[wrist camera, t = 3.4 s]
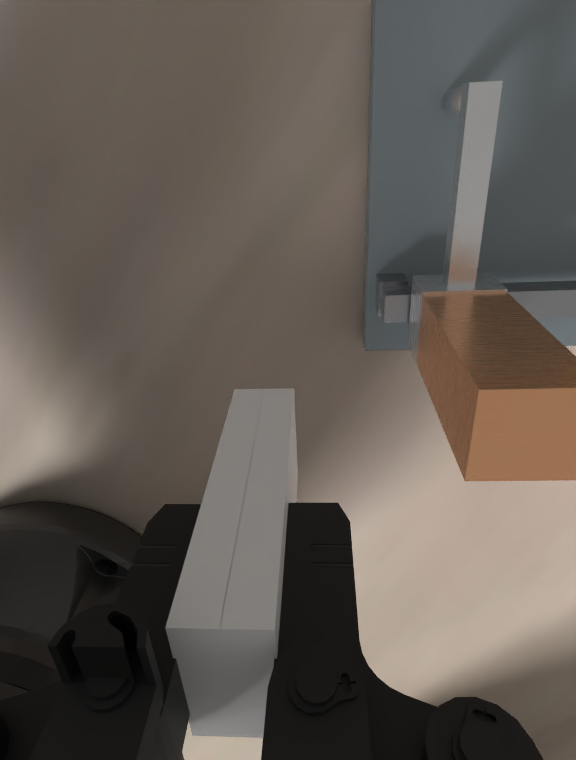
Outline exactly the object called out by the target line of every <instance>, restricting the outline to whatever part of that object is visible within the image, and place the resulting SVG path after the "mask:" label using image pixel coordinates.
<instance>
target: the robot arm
mask: <svg viewBox="0 0 576 760" xmlns="http://www.w3.org/2000/svg"><path fill="white" fill-rule="evenodd" d="M297 486H298V462H297V440H296V418H295V397H294V388H283V389H234V393H233V396H232V400H231V403H230V407H229V410H228V414H227V417H226V420H225V424H224V427H223V431H222V434H221V438H220V441H219V445H218V448H217V452H216V455H215V458H214V462H213V465H212V469H211V472H210V476H209V479H208V483H207V486H206V489H205V493H204V496H203V500H202V503H201V504H165V505H164V506H163V507H162V508H161V509H160V510H159V511H158V512H157V514H156V515H155V516H154V517H153V518H152V519H151V520H150V521H149V522H148V524H147V526H146V528H145V531H144V533H143V536H142V537H141V536H139V535H138V534H137V533H135V532H134V531H132V530H131V529H129V528H128V527H126V526H124V525H123V524H121V523H119V522H117V521H115V520H113V519H111V518H109V517H106V516H104V515H102V514H99V513H96V512H93V511H90V510H87V509H84V508H80V507H75V506H71V505H65V504H58V503H45V502H35V503H22V504H15V505H11V506H6V507H3V508H0V760H184V758H183V754H182V749H183V744H184V739H185V734H186V730H187V725H188V720H189V723H190V727H191V731H192V735H196V736H228V737H259V738H263V746H262V758H261V760H543V758H542V756H541V755H540V753H539V751H538V749H537V748H536V746H535V744H534V742H533V740H532V739H531V738H530V737H529V735H528V734H527V733H526V731H525V730H524V729H523V727H522V726H521V725H520V723H519V722H518V721H517V720H516V719H515V718H514V717H513V716H511V715H510V714H509V713H507V712H506V711H505V710H503V709H502V708H501V707H499V706H498V705H496V704H494V703H491V702H488V701H485V700H482V699H480V698H477V697H456V698H454V699H451V700H449V701H447V702H445V703H443V704H441V705H439V707H436V706H433V705H430V704H428V703H425V702H422V701H420V700H417V699H414V698H412V697H409V696H406V695H404V694H402V693H400V692H398V691H396V690H394V689H392V688H390V687H389V686H388V685H386V684H385V683H384V682H383V681H381V680H380V679H379V678H378V677H377V676H376V675H375V673H374V672H373V671H372V670H371V668H370V667H369V666H368V664H367V662H366V660H365V658H364V656H363V654H362V650H361V646H360V641H359V630H358V618H357V605H356V592H355V579H354V567H353V554H352V541H351V529H350V521H349V519H348V518H347V516H346V515H345V513H344V511H343V510H342V508H341V507H340V505H339V504H338V503H297Z"/></svg>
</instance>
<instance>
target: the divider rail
mask: <svg viewBox="0 0 576 760" xmlns="http://www.w3.org/2000/svg"><path fill="white" fill-rule="evenodd" d="M501 284H502V285H503V286H505V287H506V288H507V292H508V293H509V294H510V295H511V296H512V297H513V298H514V299H515V300H516V301H517V302H518V303H519V304H520V305H521V306H522V307H524V308H525V309H526V310H527V311H528V312H529V313H530V314H531V315H532V316H533V317H534V318H535V319H544V318H576V280H574V281H542V282H510V283H501ZM411 294H412V286H408V281H407V279H406V277H405V275H404V273H392V274H376V299H375V309H376V312H377V315H378V317H382V318H383V321H384V323H397V322H409V321H410V307H411Z"/></svg>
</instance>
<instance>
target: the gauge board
mask: <svg viewBox="0 0 576 760" xmlns="http://www.w3.org/2000/svg"><path fill="white" fill-rule="evenodd" d="M487 81H503V83H502V91H501V98H500V105H499V113H498V120H497V128H496V135H495V142H494V150H493V157H492V165H491V172H490V179H489V187H488V194H487V201H486V209H485V216H484V224H483V231H482V238H481V246H480V253H479V260H478V268H477V274H478V273H490V274H492V275H493V276H494V277H495V278H496V279H497V280H498V281H499V282H500V283H510V282H542V281H574V280H576V0H372V32H371V69H370V105H369V142H368V178H367V215H366V251H365V288H364V324H363V342H364V347H365V350H406V349H409V346H408V334H409V322H397V323H384V321H383V318H382V317H378V315H377V312H376V309H375V299H376V274H392V273H404V275H405V277H406V279H407V281H408V286H412V280H413V276H417V275H443V270H444V261H445V251H446V241H447V232H448V222H449V212H450V202H451V193H452V183H453V173H454V164H455V154H456V144H457V135H458V125H459V115H449V114H447V113H445V112H444V110H443V109H442V98H443V96H444V94H445V93H446V92H447V91H448V90H449V89H451V88H457V87H462V86H463V83H469V82H487ZM536 320H537V321H538V322H539V323H541V324H542V325H543V326H544V327H545V328H546V329H547V330H548V331H549V332H550V333H551V334H552V335H553V336H554V337H555V338H556V339H557V340H559V341H560V342H561V343H562V344H563V345H564V346H572V345H576V318H544V319H536Z"/></svg>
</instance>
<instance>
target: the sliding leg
mask: <svg viewBox="0 0 576 760" xmlns="http://www.w3.org/2000/svg"><path fill="white" fill-rule="evenodd" d="M502 83H503V81H487V82H469V83H463V86H462V87H457V88H451V89H449V90H448V91H447V92H446V93H445V94H444V96H443V98H442V109H443V110H444V112H445V113H447V114H449V115H459V125H458V135H457V144H456V154H455V164H454V173H453V183H452V193H451V202H450V212H449V222H448V232H447V241H446V251H445V261H444V270H443V275H417V276H413V280H412V294H411V307H410V321H409V334H408V346H409V349H410V351H411V354H412V356H413V359H414V361H415V364H416V366H418V368H419V371H420V373H421V376H422V378H423V380H424V383H425V385H426V388H427V390H428V393H429V395H430V398H431V400H432V402H433V405H434V407H435V410H436V412H437V415H438V417H439V419H440V422H441V424H442V427H443V429H444V432H445V434H446V436H447V439H448V441H449V444H450V446H451V449H452V451H453V454H454V456H455V458H456V461H457V463H458V466H459V468H460V471H461V473H462V475H463V478H464V480H465V481H538V480H576V356H574V355H573V354H572V353H571V352H570V351H569V350H568V349H567V348H566V347H565V346H564V345H563V344H562V343H561V342H560V341H559V340H557V339H556V338H555V337H554V336H553V335H552V334H551V333H550V332H549V331H548V330H547V329H546V328H545V327H544V326H543V325H542V324H541V323H539V322H538V321H537V320H536V319H535V318H534V317H533V316H532V315H531V314H530V313H529V312H528V311H527V310H526V309H525V308H524V307H522V306H521V305H520V304H519V303H518V302H517V301H516V300H515V299H514V298H513V297H512V296H511V295H510V294H509V293H508V292H507V288H506V287H505V286H503V285H502V284H501V283H500V282H499V281H498V280H497V279H496V278H495V277H494V276H493V275H492V274H490V273H478V274H477V268H478V260H479V253H480V246H481V238H482V231H483V224H484V216H485V209H486V201H487V194H488V187H489V179H490V172H491V165H492V157H493V150H494V142H495V135H496V128H497V120H498V113H499V105H500V98H501V91H502Z"/></svg>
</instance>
